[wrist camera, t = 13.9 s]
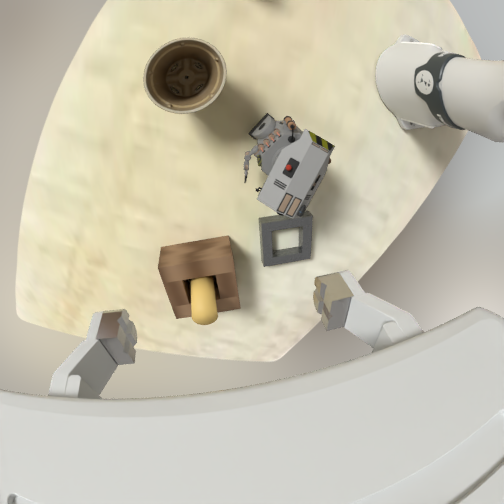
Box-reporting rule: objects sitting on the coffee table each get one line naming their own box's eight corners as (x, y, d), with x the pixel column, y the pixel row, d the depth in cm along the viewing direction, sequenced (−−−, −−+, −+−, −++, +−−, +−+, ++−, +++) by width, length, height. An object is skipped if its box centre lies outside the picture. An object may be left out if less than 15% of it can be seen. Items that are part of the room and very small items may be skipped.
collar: (308, 210, 48) (312, 216, 47) (306, 252, 53) (310, 258, 52) (258, 218, 47) (261, 223, 46) (261, 260, 52) (263, 266, 51)
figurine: (223, 161, 41) (236, 199, 28) (273, 105, 37) (311, 117, 25) (266, 194, 45) (294, 242, 33) (313, 143, 41) (361, 173, 29)
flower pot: (230, 58, 32) (239, 50, 25) (207, 115, 36) (209, 123, 29) (167, 41, 28) (160, 29, 21) (146, 100, 33) (132, 104, 26)
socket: (228, 235, 48) (232, 255, 43) (235, 287, 55) (240, 308, 50) (161, 247, 47) (157, 267, 42) (176, 296, 54) (176, 318, 49)
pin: (209, 258, 50) (215, 305, 40) (213, 274, 52) (219, 322, 43) (188, 261, 50) (189, 309, 40) (192, 278, 52) (194, 326, 42)
